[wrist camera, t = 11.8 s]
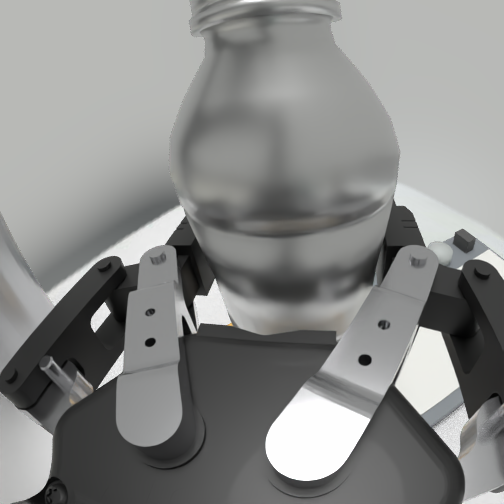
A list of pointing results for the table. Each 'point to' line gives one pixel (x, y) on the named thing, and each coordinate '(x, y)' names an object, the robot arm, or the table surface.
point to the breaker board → (439, 341)
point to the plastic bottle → (283, 165)
